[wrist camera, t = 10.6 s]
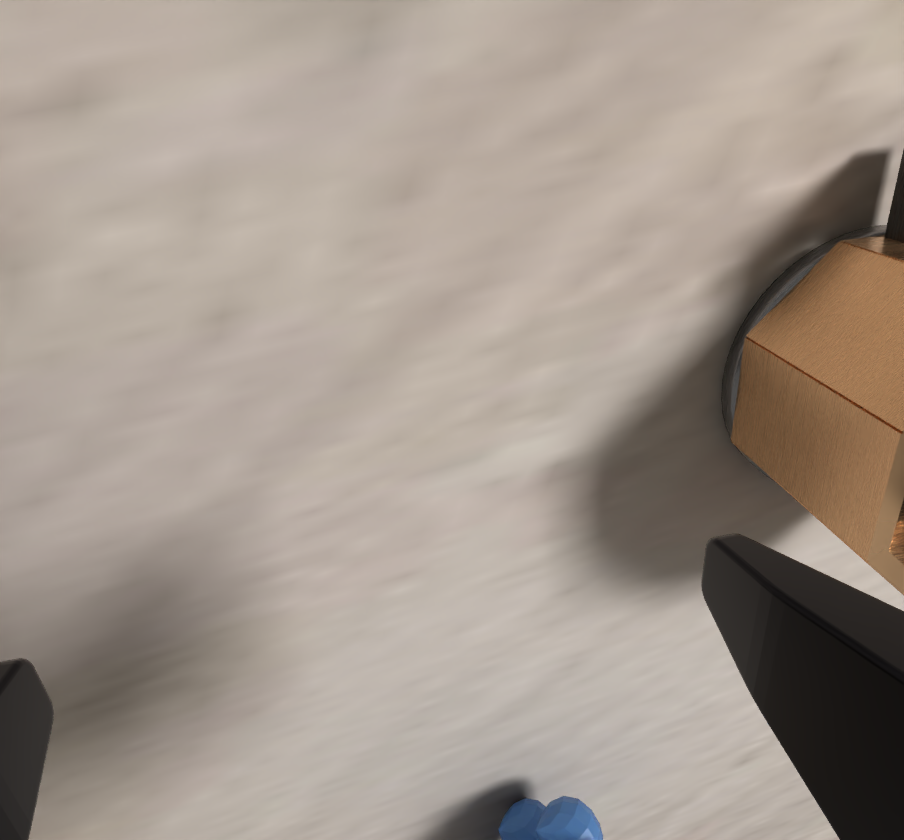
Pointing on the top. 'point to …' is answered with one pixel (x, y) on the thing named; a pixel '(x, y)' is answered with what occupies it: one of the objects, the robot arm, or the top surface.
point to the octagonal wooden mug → (831, 388)
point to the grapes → (550, 821)
